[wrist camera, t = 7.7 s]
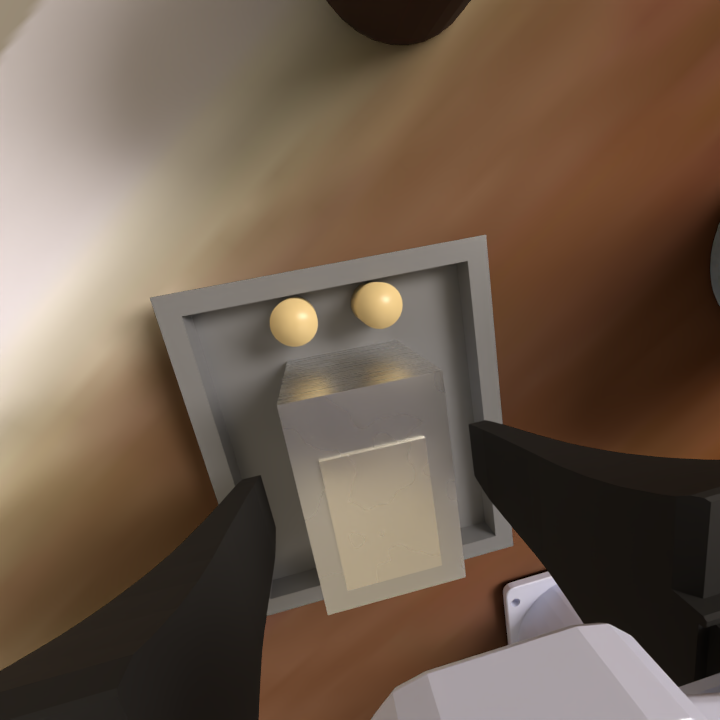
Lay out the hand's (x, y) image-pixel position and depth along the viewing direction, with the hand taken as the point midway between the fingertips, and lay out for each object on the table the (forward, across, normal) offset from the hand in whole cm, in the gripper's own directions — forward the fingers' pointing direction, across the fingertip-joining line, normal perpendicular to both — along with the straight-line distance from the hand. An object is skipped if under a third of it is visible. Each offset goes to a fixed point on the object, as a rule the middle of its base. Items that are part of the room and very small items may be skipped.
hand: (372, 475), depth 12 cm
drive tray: (+4, 0, 0) cm, 4 cm away
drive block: (+3, 0, 0) cm, 3 cm away
